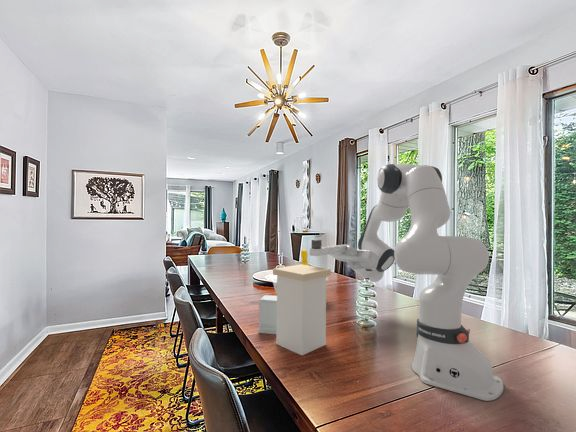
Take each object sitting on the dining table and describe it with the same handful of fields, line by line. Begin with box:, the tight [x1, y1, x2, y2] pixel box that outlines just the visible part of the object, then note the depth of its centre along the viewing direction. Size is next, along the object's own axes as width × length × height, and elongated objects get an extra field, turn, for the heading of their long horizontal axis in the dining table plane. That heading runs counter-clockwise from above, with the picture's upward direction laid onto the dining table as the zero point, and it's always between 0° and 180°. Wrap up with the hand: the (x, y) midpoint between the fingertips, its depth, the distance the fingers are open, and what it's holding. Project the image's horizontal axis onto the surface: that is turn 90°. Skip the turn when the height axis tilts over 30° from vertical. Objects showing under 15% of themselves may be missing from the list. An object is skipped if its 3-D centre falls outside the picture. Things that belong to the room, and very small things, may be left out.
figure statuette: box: [300, 249, 310, 266], centre depth 200 cm, size 18×8×22 cm, turn 26°
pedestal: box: [272, 263, 332, 356], centre depth 108 cm, size 14×14×26 cm
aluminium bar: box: [309, 239, 352, 257], centre depth 120 cm, size 4×22×6 cm, turn 135°
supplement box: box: [258, 294, 277, 335], centre depth 121 cm, size 7×7×13 cm
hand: (342, 247), depth 125 cm, fingers closed on aluminium bar, 3 cm apart
